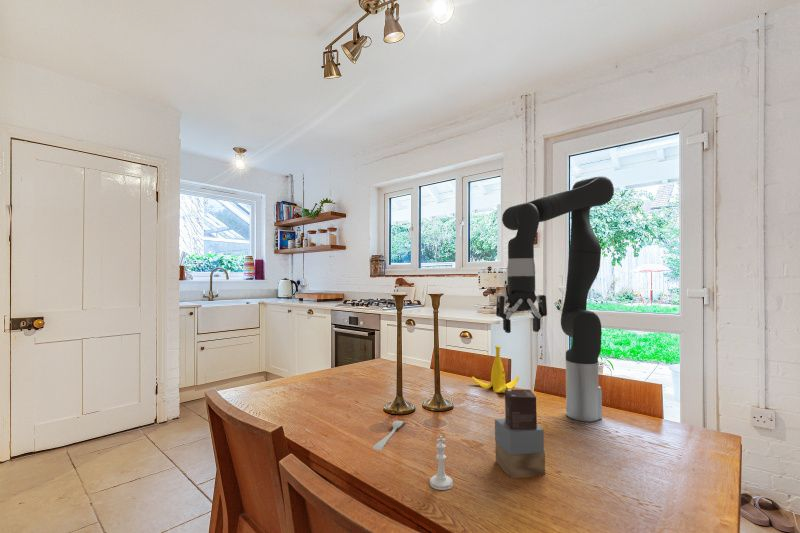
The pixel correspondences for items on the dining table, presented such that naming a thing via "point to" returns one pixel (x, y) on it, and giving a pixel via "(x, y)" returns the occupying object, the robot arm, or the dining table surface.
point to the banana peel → (497, 376)
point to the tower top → (518, 439)
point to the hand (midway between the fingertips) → (521, 332)
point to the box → (520, 409)
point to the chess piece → (441, 470)
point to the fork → (384, 440)
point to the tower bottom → (520, 463)
